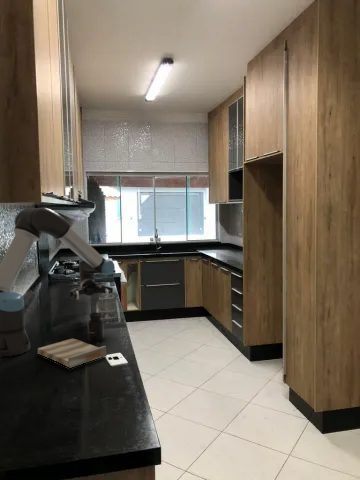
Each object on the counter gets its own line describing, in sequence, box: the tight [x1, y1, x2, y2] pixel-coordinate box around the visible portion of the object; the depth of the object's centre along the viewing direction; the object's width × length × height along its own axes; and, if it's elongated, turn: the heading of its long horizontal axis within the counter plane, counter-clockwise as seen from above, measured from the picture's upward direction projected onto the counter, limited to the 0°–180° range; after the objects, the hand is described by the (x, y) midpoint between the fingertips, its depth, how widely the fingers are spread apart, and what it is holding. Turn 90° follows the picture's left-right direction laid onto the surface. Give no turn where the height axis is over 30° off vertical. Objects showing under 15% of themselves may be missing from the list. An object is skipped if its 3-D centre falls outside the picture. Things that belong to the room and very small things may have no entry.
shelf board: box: [37, 337, 107, 369], centre depth 150 cm, size 23×16×4 cm
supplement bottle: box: [87, 312, 105, 344], centre depth 168 cm, size 7×7×12 cm
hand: (93, 295), depth 177 cm, fingers open, 13 cm apart
